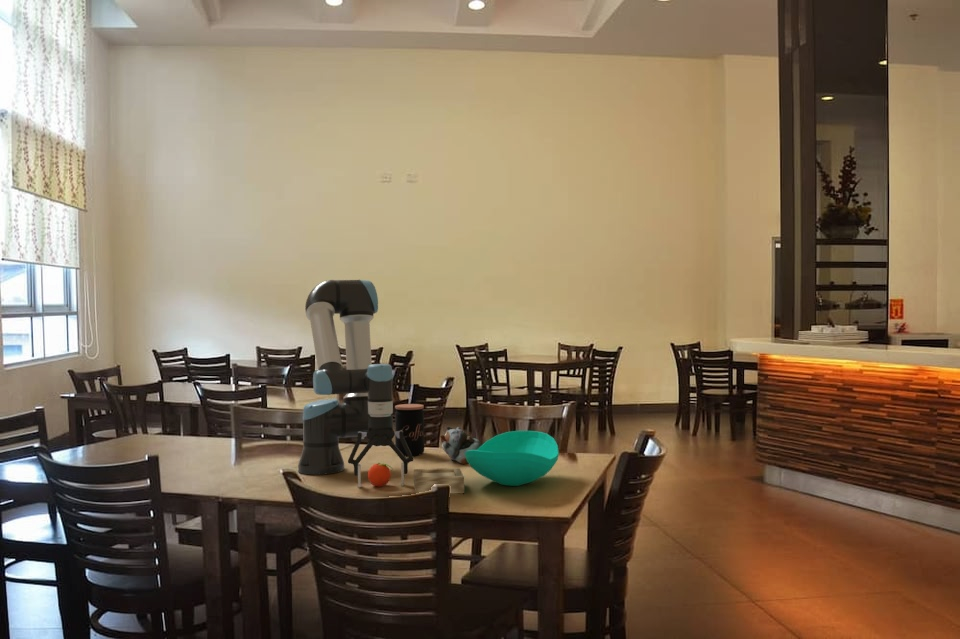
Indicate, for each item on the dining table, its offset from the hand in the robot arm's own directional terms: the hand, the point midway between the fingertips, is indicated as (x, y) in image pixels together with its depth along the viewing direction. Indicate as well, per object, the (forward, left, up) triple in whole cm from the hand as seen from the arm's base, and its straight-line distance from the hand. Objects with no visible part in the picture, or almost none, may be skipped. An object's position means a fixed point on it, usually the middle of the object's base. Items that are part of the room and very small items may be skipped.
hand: (381, 485), depth 240 cm
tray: (+17, -7, 0) cm, 18 cm away
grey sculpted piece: (+28, +35, 0) cm, 45 cm away
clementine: (0, 0, 0) cm, 0 cm away
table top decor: (+40, -3, 0) cm, 40 cm away
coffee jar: (+10, +52, 0) cm, 53 cm away
